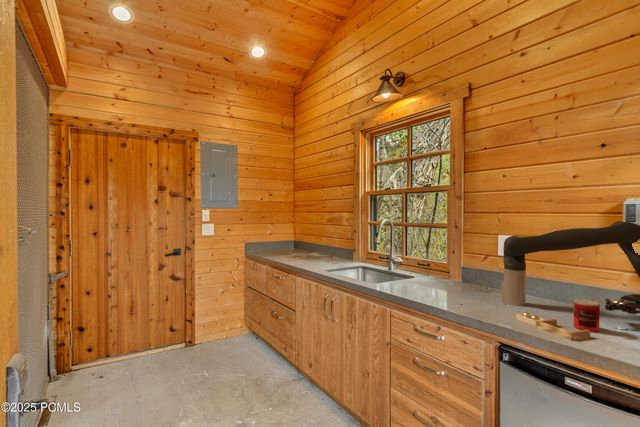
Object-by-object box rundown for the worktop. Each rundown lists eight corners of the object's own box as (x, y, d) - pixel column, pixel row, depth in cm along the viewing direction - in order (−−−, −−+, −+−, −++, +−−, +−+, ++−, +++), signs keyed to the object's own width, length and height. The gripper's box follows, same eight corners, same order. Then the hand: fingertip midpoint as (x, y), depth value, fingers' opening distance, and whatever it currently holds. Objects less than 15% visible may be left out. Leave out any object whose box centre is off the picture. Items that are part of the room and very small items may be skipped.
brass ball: (528, 322, 135) (529, 314, 135) (534, 321, 136) (534, 313, 136) (535, 324, 132) (535, 316, 132) (541, 323, 133) (541, 316, 133)
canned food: (587, 326, 132) (587, 298, 132) (605, 334, 124) (605, 304, 124) (568, 326, 131) (568, 298, 131) (585, 334, 124) (585, 304, 123)
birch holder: (536, 328, 129) (536, 321, 129) (553, 326, 132) (553, 318, 132) (571, 342, 116) (571, 333, 116) (589, 339, 119) (590, 330, 119)
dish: (516, 319, 139) (516, 314, 139) (526, 318, 141) (526, 313, 141) (535, 327, 131) (535, 321, 131) (546, 325, 132) (546, 319, 132)
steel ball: (520, 319, 139) (520, 311, 138) (526, 318, 139) (526, 311, 139) (527, 321, 136) (527, 314, 136) (532, 320, 137) (532, 313, 137)
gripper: (618, 290, 142) (589, 294, 137) (657, 298, 129) (627, 302, 124) (618, 308, 142) (589, 312, 137) (657, 317, 129) (627, 322, 124)
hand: (607, 307), depth 131 cm, fingers closed
